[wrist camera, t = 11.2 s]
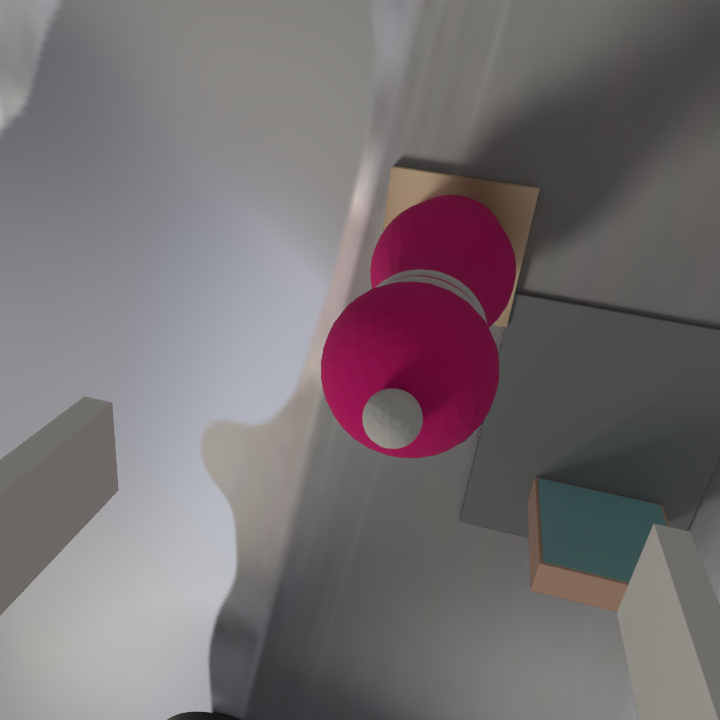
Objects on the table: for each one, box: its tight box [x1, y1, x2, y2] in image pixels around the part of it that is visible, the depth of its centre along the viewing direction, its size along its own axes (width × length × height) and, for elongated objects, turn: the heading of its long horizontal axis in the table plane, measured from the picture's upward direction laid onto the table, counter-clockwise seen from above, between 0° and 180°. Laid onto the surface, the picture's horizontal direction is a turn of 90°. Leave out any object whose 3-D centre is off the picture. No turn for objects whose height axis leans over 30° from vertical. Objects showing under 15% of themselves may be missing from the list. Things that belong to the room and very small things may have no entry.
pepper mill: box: [321, 195, 516, 458], centre depth 26 cm, size 7×7×20 cm
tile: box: [528, 477, 670, 612], centre depth 37 cm, size 8×2×8 cm, turn 84°
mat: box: [460, 293, 720, 538], centre depth 38 cm, size 14×17×1 cm
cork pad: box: [383, 165, 539, 328], centre depth 35 cm, size 8×8×1 cm
